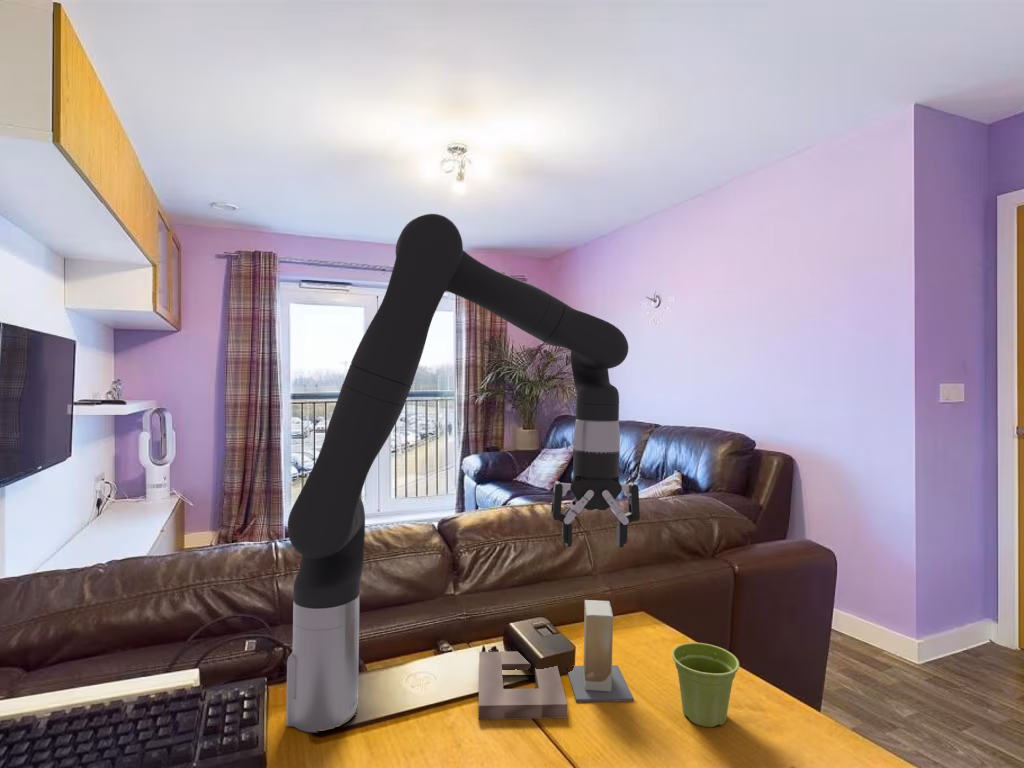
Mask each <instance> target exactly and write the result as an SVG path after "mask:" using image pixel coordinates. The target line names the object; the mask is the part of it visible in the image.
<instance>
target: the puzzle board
mask: <svg viewBox="0 0 1024 768" xmlns="http://www.w3.org/2000/svg"><path fill="white" fill-rule="evenodd" d="M478 654H479V657H478V659H479V660H478V662H479V663H478V670H479V671H478V720H521V719H522V720H526V719H529V720H530V719H531V720H532V719H567V718H568V701H567V697H566V694H565V689H564V685H563V683H562V679H561V675H560V671H559V667H558V665H557V666H554V667H549V668H544V669H536V668H535V677H534V682H535V688H504V680H503V679H504V676H502V670H515V669H517V670H528V669H529V668H530V666H531V664H530V663H529V662H528V661H527V660H526V659H525V658H524V657H523V656H522V655H521V654H520V653H519V652H518V650H517V651H514V650H512V651H479V652H478Z"/></svg>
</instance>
